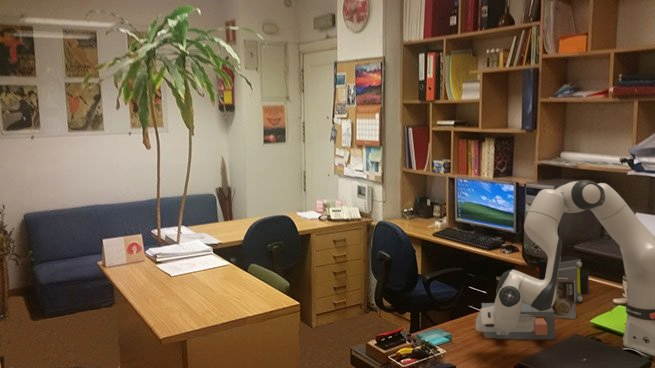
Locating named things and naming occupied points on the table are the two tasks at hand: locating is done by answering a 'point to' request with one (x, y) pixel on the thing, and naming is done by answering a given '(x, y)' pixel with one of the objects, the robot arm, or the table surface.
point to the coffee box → (565, 298)
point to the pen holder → (584, 282)
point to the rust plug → (540, 326)
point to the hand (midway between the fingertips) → (503, 332)
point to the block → (528, 310)
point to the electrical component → (565, 272)
